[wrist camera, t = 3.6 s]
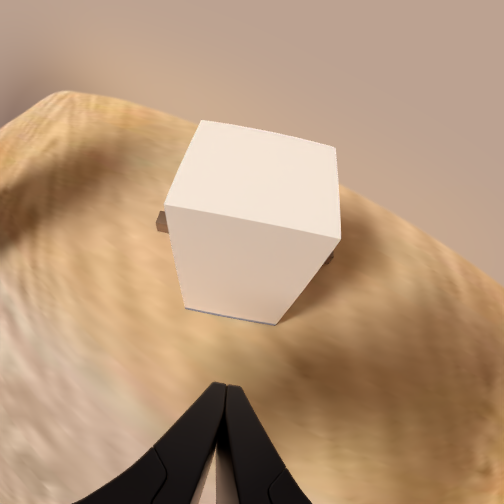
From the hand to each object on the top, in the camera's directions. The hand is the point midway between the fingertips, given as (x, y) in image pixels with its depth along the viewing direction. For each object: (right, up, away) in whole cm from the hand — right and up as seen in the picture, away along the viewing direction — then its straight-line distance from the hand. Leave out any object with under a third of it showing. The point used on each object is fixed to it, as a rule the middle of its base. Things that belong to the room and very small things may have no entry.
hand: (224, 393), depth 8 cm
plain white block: (0, +2, +10) cm, 11 cm away
